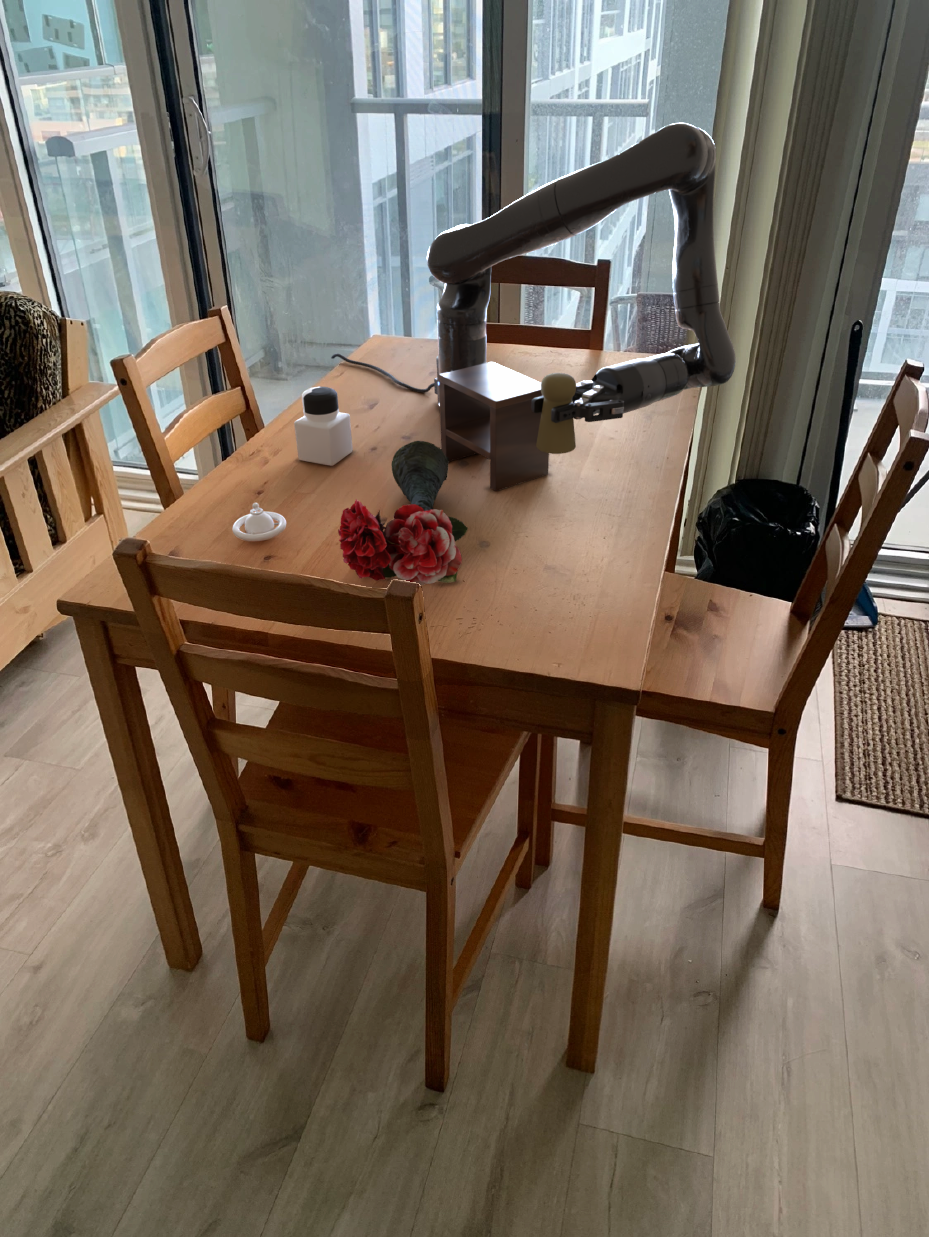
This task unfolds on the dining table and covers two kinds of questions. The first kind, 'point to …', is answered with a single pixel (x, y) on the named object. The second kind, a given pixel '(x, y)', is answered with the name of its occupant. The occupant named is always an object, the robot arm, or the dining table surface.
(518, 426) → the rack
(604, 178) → the robot arm
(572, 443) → the cork
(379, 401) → the dining table surface
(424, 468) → the carnation
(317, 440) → the medicine bottle
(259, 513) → the ring around a ball
